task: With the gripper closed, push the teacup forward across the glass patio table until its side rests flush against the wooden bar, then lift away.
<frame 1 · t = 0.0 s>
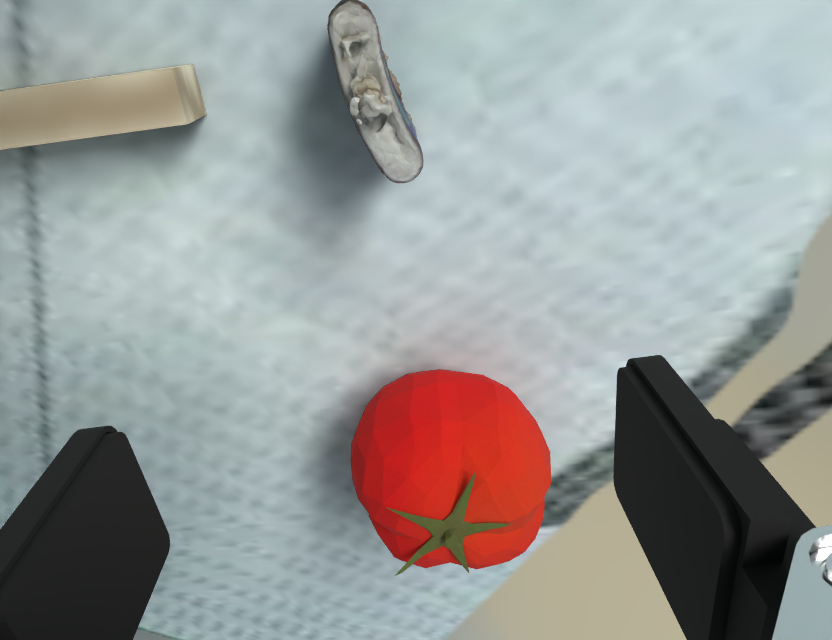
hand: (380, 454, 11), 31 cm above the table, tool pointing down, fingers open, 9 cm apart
tomato: (447, 411, 49), on the table
wooden bar: (27, 113, 37), on the table
blue shamrock pouch: (376, 82, 38), on the table
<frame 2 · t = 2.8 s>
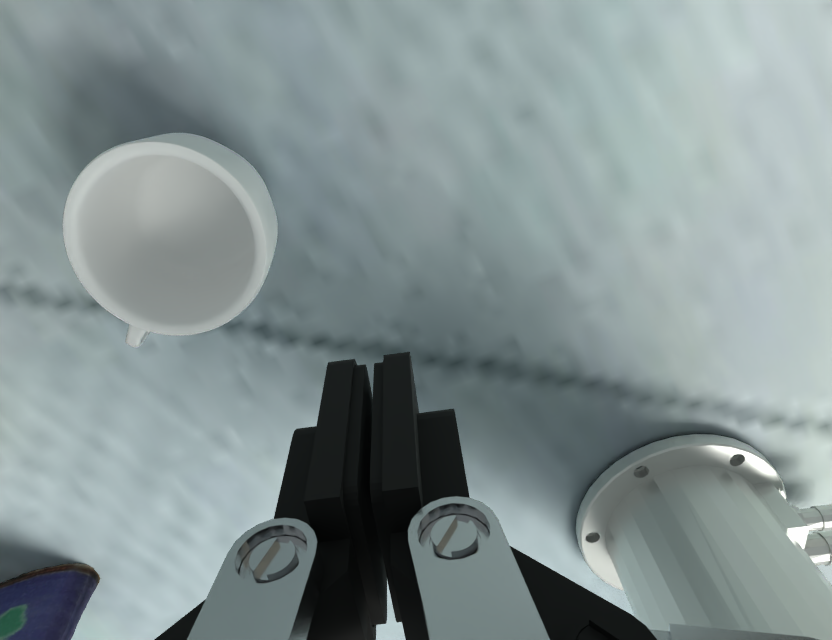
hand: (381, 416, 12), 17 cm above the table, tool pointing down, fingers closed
teacup: (198, 225, 28), on the table
blue shamrock pouch: (36, 586, 38), on the table
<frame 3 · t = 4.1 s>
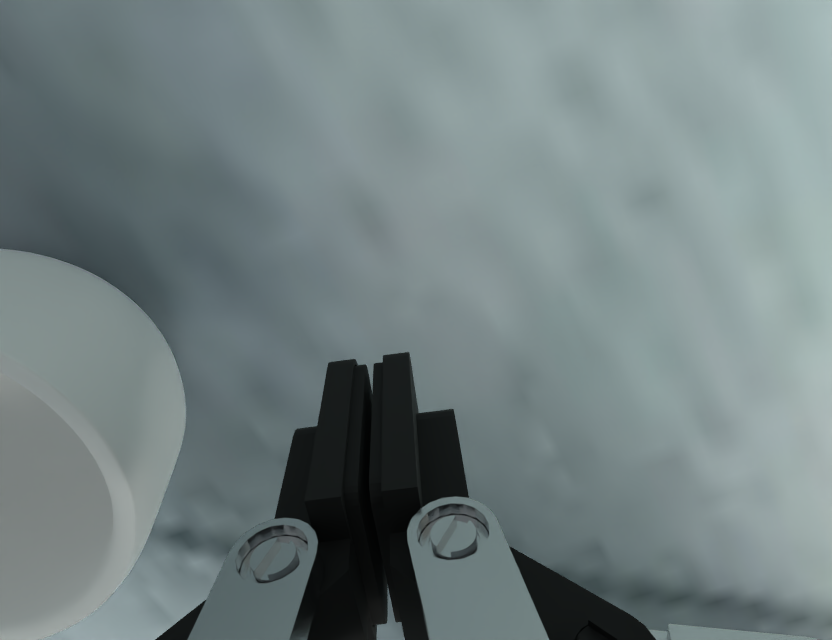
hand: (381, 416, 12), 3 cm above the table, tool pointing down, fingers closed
teacup: (58, 383, 16), on the table
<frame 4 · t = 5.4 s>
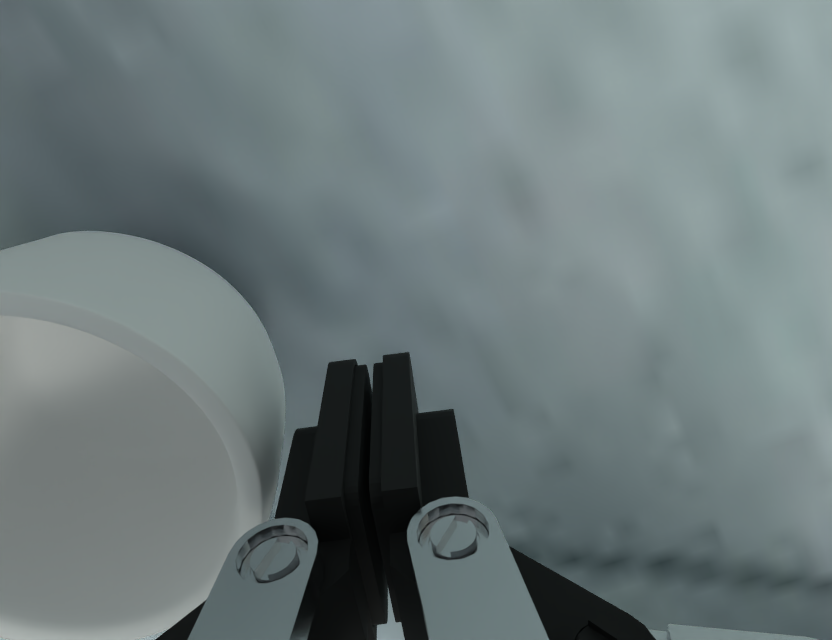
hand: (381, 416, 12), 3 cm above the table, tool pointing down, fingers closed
teacup: (139, 373, 15), on the table, touching gripper
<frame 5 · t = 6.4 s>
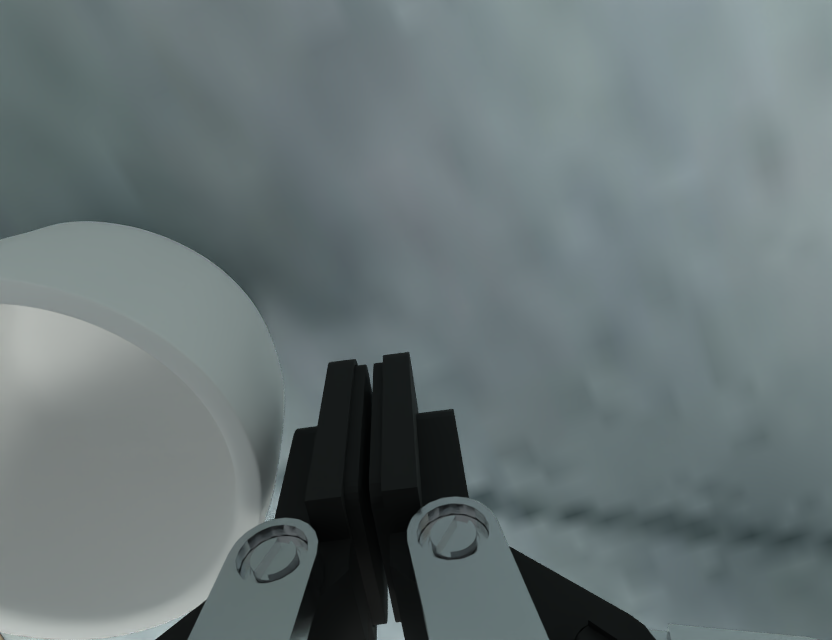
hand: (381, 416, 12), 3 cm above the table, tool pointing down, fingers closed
teacup: (137, 366, 15), on the table, touching gripper
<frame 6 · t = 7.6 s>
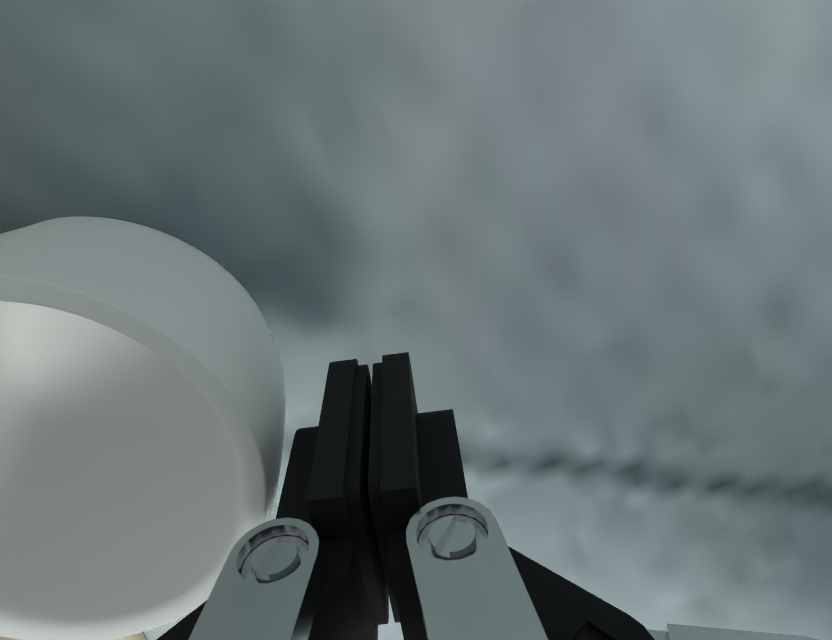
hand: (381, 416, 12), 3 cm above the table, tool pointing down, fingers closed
teacup: (133, 364, 15), on the table, touching wooden bar, gripper
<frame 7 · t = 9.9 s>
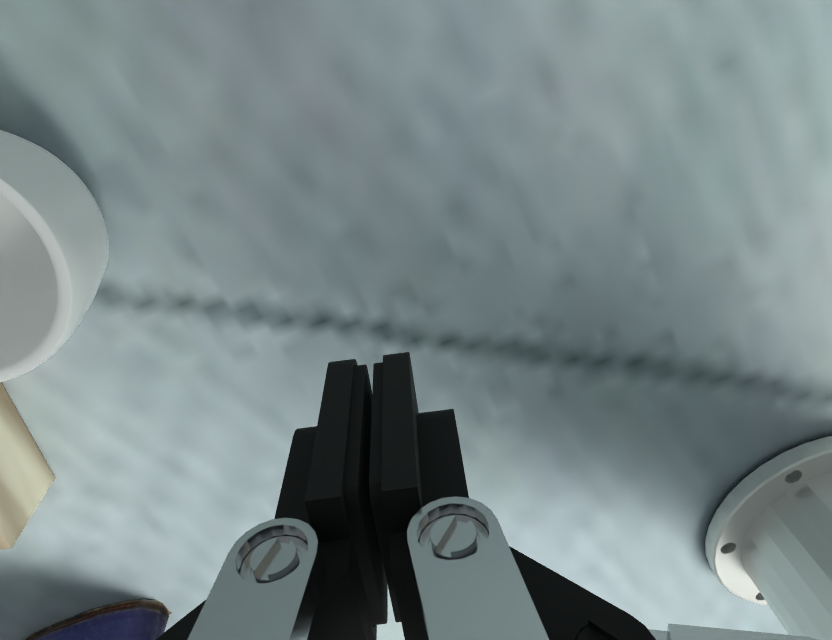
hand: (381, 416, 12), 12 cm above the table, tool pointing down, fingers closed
teacup: (18, 237, 22), on the table
blue shamrock pouch: (94, 625, 33), on the table
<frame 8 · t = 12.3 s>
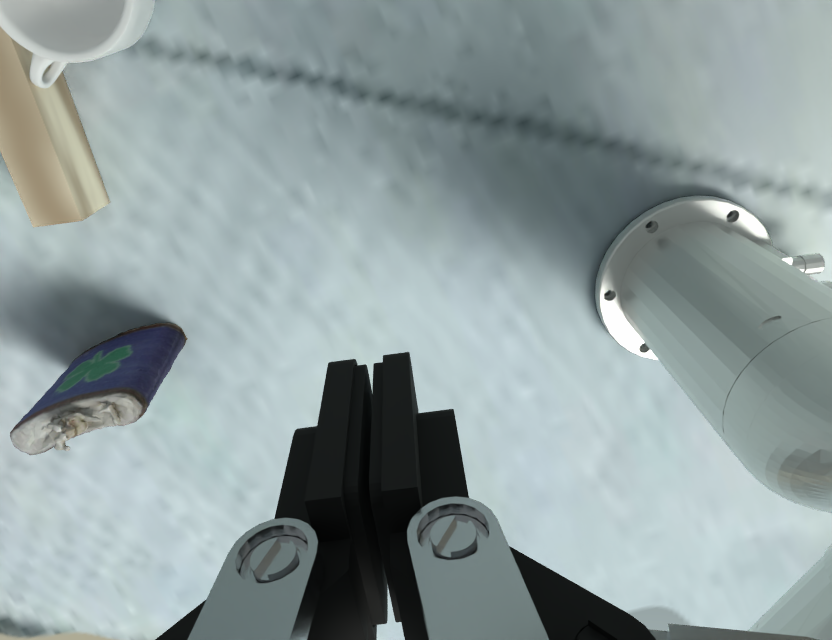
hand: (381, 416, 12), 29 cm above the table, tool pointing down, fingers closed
teacup: (96, 1, 34), on the table
wooden bar: (16, 20, 34), on the table
blue shamrock pouch: (131, 349, 44), on the table
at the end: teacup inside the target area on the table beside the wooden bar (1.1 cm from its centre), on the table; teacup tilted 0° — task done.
